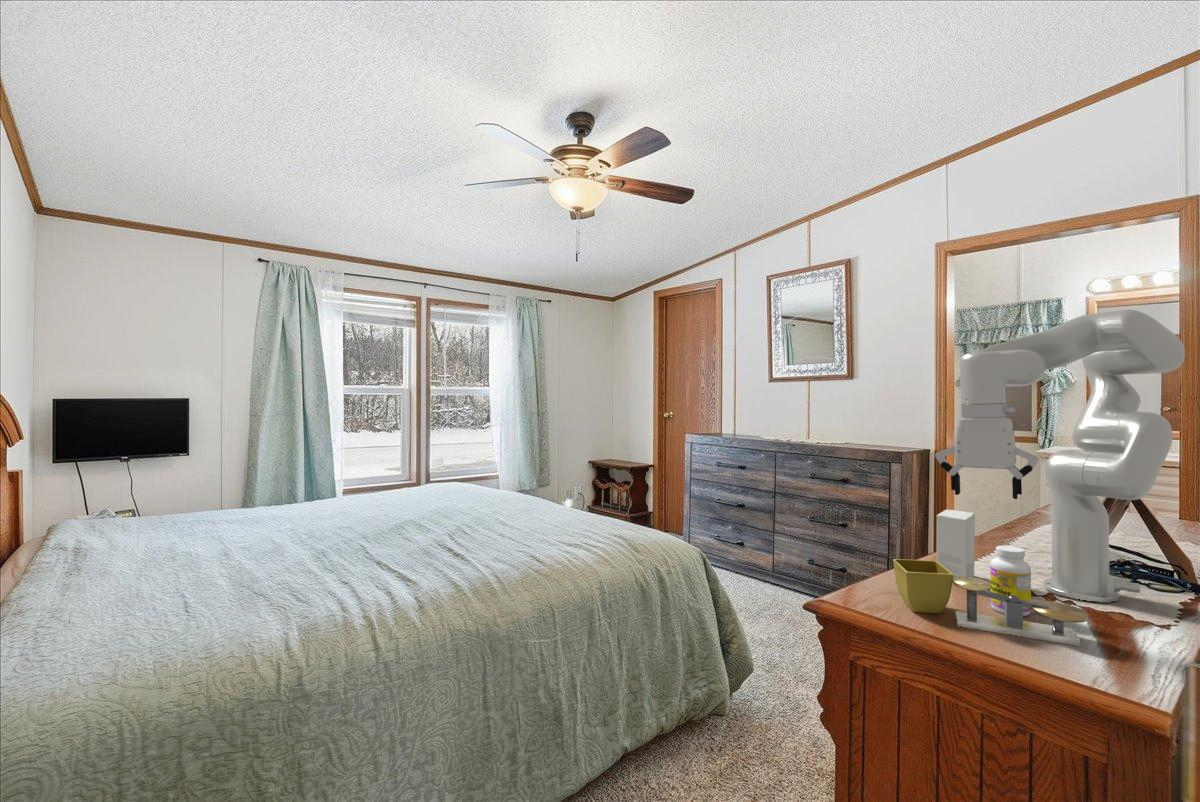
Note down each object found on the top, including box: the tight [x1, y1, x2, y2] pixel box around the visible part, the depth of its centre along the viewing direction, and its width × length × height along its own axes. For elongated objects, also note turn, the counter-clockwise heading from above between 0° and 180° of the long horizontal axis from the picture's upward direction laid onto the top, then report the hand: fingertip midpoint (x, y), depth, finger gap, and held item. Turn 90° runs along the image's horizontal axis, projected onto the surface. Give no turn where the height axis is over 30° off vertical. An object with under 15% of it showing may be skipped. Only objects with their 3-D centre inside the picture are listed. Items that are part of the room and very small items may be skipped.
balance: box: [952, 576, 1088, 647], centre depth 102 cm, size 20×8×8 cm, turn 61°
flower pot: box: [892, 558, 953, 614], centre depth 113 cm, size 9×9×9 cm
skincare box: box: [936, 508, 976, 578], centre depth 132 cm, size 8×7×16 cm
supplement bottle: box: [989, 545, 1032, 617], centre depth 111 cm, size 7×7×13 cm
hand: (985, 495), depth 111 cm, fingers open, 9 cm apart
